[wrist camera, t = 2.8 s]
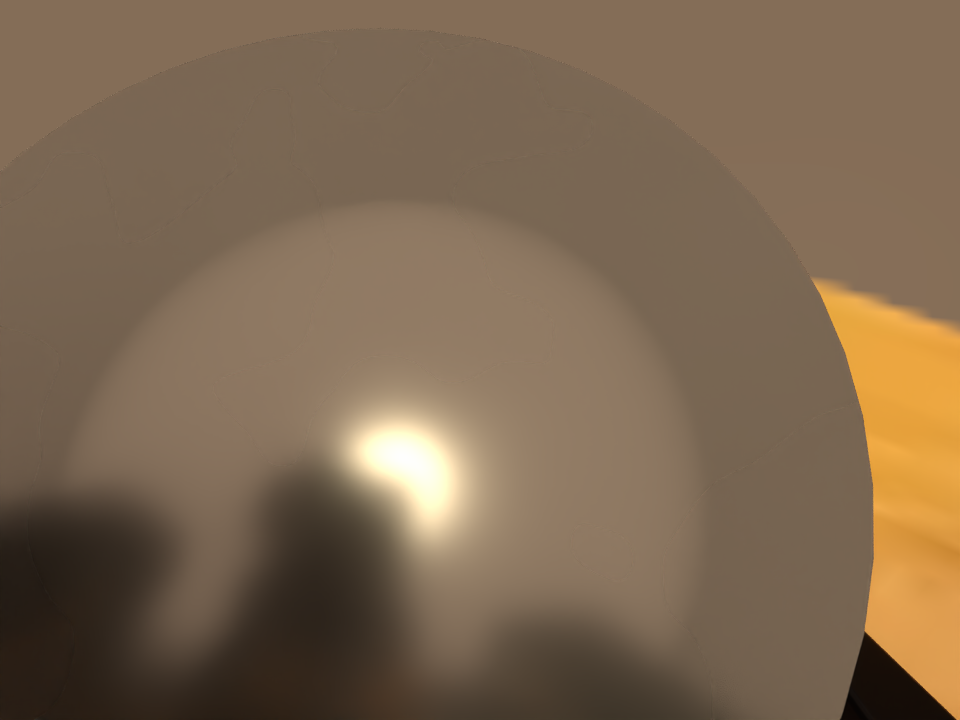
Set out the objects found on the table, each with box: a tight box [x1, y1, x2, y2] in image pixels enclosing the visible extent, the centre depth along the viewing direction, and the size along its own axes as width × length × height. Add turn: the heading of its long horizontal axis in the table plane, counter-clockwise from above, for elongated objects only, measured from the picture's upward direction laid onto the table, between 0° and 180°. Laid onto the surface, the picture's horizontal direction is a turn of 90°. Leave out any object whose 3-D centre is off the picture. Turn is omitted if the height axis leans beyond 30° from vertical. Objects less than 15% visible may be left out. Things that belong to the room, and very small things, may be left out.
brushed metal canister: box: [0, 28, 874, 720], centre depth 10 cm, size 7×7×12 cm
